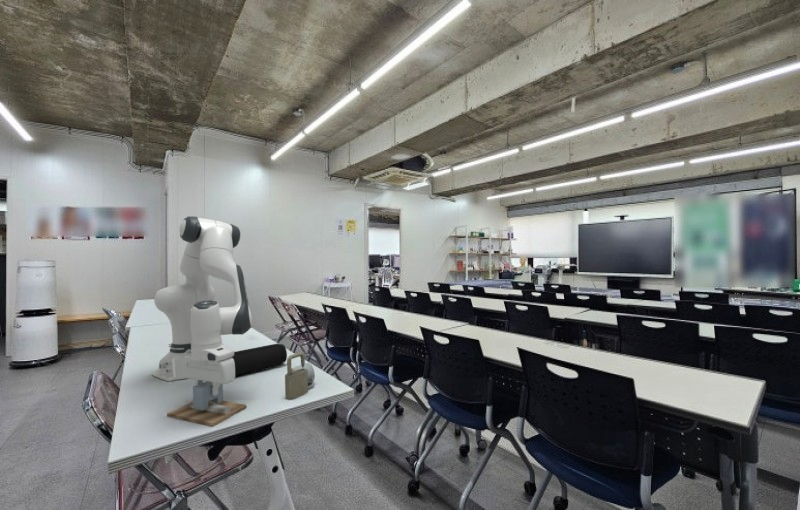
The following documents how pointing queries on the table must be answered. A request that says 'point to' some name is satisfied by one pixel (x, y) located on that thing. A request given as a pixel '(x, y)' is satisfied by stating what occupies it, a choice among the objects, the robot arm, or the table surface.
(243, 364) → the portable speaker
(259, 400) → the table surface
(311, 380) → the ceramic mug
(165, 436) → the table surface
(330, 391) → the table surface
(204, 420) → the striped wooden board
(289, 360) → the padlock
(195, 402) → the block
